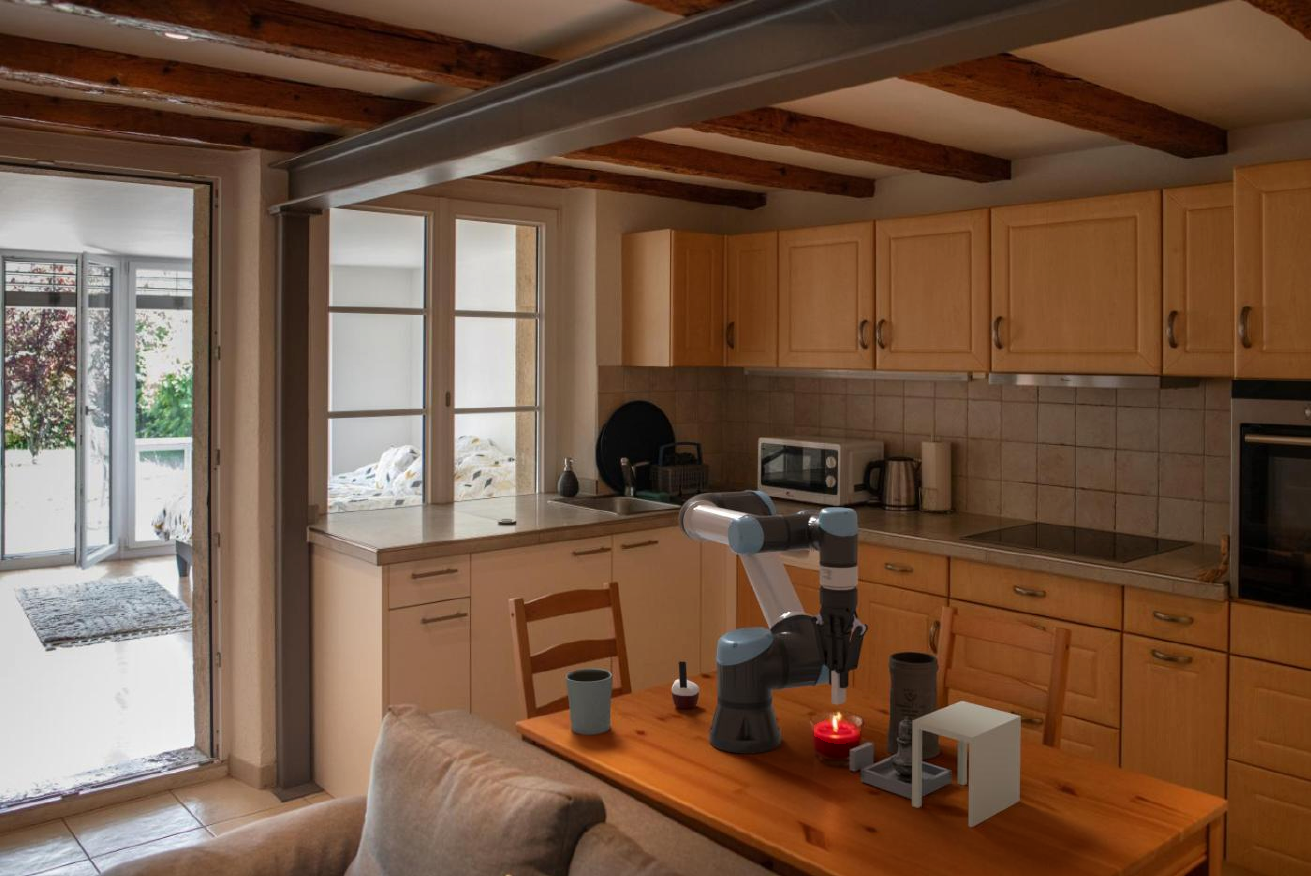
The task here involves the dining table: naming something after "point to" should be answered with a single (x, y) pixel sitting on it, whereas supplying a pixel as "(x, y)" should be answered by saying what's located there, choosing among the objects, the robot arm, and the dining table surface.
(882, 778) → the tray
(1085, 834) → the dining table surface
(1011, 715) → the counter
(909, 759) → the dark grey tall piece
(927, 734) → the beer stein
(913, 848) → the dining table surface
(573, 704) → the grey-blue cup
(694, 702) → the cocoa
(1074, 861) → the dining table surface
